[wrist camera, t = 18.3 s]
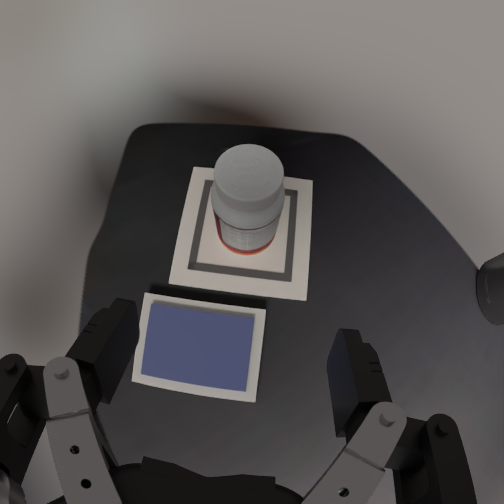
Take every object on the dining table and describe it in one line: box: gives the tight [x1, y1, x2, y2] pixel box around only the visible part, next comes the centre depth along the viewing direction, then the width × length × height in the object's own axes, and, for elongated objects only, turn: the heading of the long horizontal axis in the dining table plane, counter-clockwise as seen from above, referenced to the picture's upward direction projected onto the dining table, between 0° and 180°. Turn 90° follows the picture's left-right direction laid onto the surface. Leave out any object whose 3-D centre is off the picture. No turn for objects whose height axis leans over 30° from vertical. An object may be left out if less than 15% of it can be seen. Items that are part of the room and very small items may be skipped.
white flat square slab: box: [169, 167, 313, 301], centre depth 33 cm, size 14×14×1 cm
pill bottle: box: [211, 144, 285, 256], centre depth 27 cm, size 6×6×11 cm
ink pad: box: [132, 293, 266, 402], centre depth 28 cm, size 12×9×2 cm
